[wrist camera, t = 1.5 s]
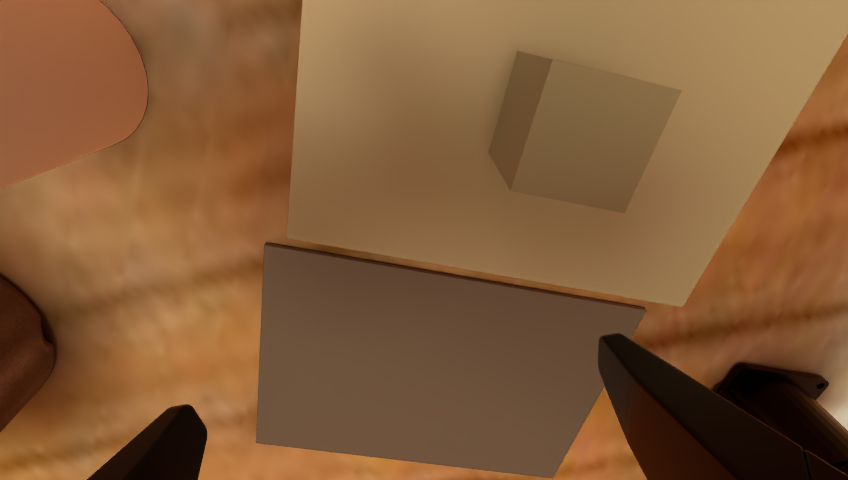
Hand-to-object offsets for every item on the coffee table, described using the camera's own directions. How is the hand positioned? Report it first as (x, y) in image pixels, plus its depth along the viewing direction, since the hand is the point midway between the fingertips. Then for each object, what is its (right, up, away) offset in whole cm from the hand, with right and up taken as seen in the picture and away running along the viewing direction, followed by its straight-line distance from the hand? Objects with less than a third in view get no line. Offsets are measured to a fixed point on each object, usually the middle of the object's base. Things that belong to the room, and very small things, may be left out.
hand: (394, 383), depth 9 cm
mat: (+1, -6, +18) cm, 19 cm away
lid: (+5, +8, +7) cm, 12 cm away
